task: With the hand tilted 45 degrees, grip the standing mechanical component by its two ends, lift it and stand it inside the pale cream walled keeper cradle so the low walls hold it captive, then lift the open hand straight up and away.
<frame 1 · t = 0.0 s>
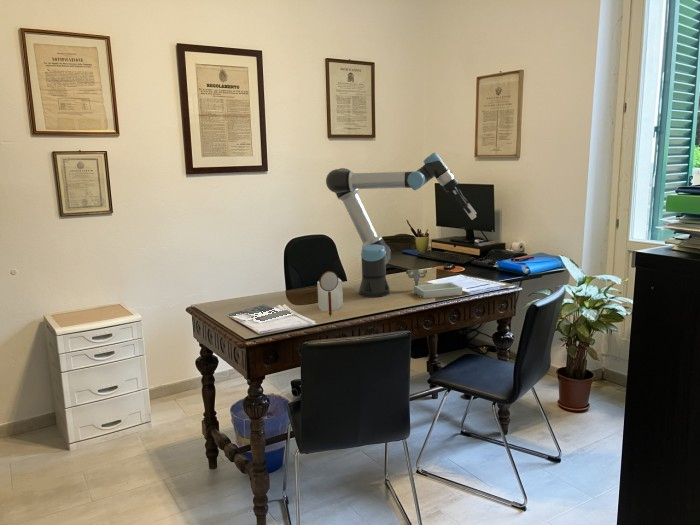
hand: (474, 216, 270), 36 cm above the table, tool tilted 35°, fingers open, 13 cm apart
keeper cradle: (437, 293, 270), on the table
magnifying glass: (330, 317, 238), on the table
mechanical component: (416, 289, 280), on the table
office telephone: (260, 316, 245), on the table
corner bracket: (331, 307, 253), on the table
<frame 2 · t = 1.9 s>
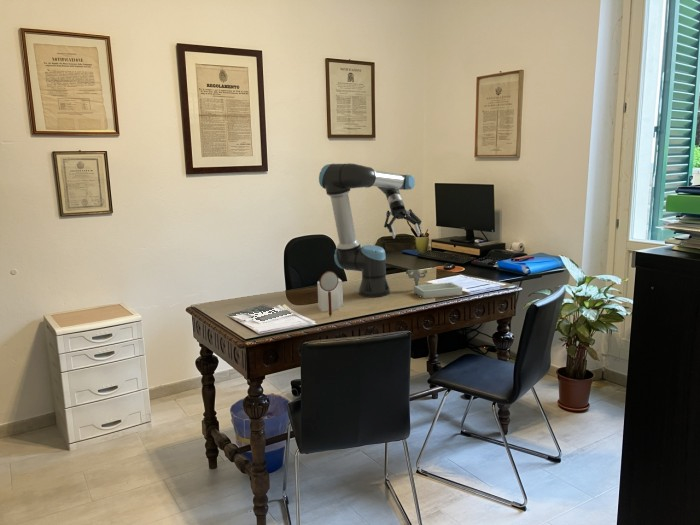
hand: (406, 235, 287), 26 cm above the table, tool tilted 45°, fingers open, 13 cm apart
nothing on the table moved.
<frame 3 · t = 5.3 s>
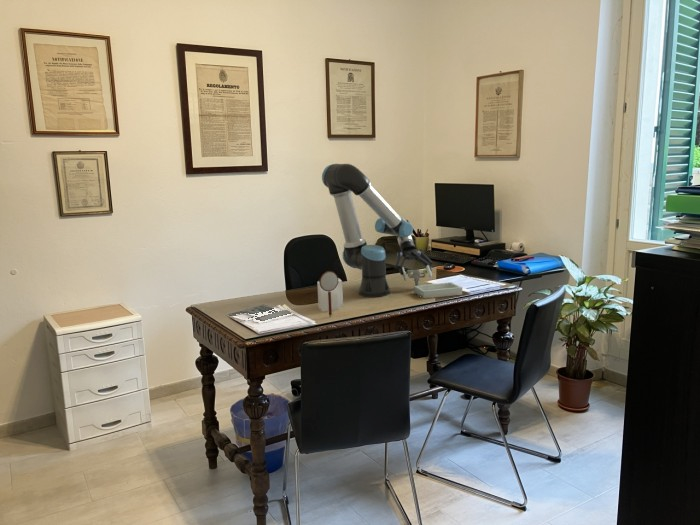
hand: (418, 278, 279), 6 cm above the table, tool tilted 45°, fingers open, 13 cm apart
nothing on the table moved.
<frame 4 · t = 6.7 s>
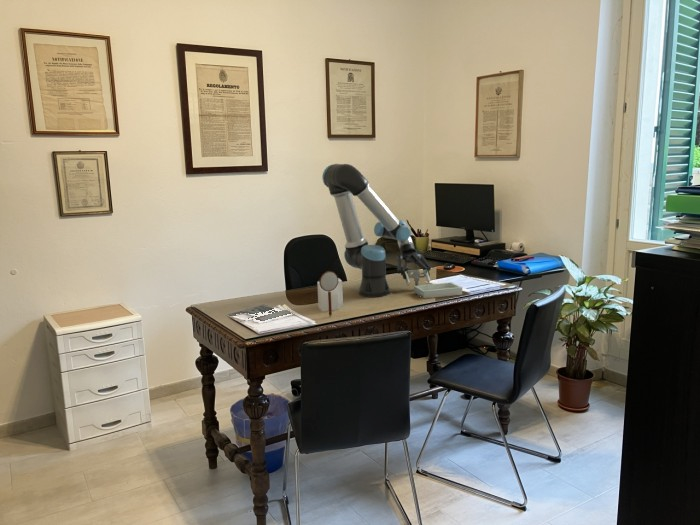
hand: (418, 282, 276), 4 cm above the table, tool tilted 45°, fingers closed on mechanical component, 10 cm apart
mechanical component: (416, 289, 280), on the table, touching gripper
everything else where it was.
when the fingers open (5 cm above the table, at t = 12.8 s): mechanical component stays where it is, resting on keeper cradle.
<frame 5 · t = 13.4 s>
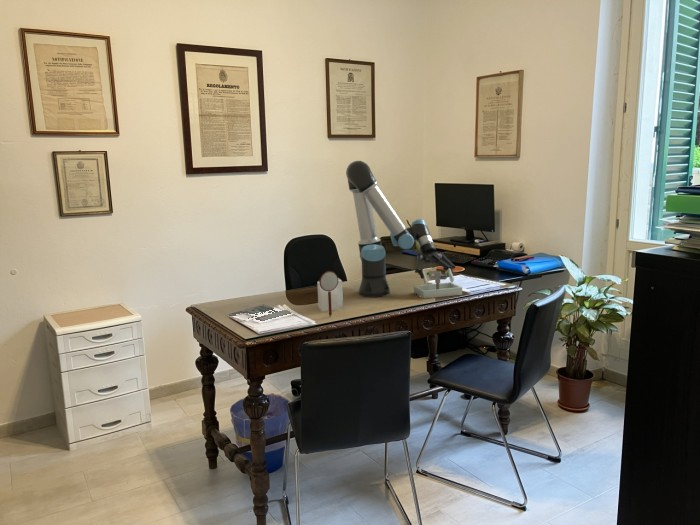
hand: (439, 282, 267), 6 cm above the table, tool tilted 45°, fingers open, 13 cm apart
mechanical component: (437, 292, 270), point 1 cm above the table, touching keeper cradle
everything else where it was.
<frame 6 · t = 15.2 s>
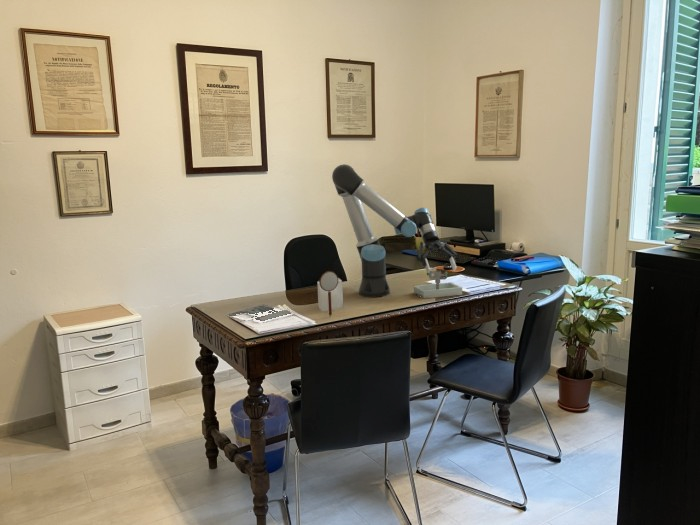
hand: (442, 270, 265), 12 cm above the table, tool tilted 45°, fingers open, 13 cm apart
nothing on the table moved.
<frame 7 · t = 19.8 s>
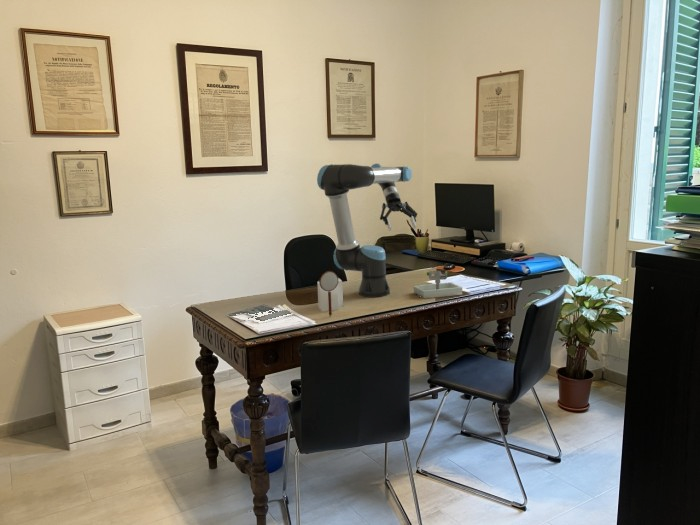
hand: (402, 228, 286), 30 cm above the table, tool tilted 45°, fingers open, 13 cm apart
nothing on the table moved.
at the end: mechanical component inside the target area on the keeper cradle (0.1 cm from its centre), point 0.8 cm above the keeper cradle's base; mechanical component tilted 1°; the gripper is holding nothing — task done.
